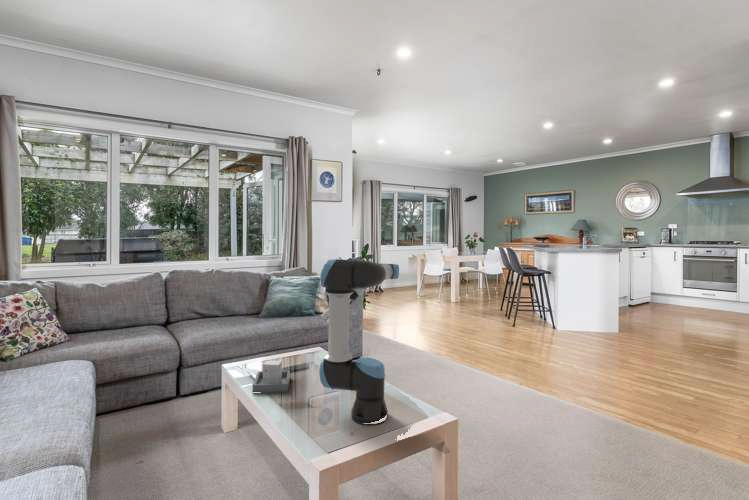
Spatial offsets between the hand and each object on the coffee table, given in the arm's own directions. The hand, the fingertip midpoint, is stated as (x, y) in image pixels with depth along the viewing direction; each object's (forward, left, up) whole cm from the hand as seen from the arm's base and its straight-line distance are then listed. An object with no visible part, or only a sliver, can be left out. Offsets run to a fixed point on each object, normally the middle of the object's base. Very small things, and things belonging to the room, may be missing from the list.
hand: (325, 320), depth 202 cm
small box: (-7, +26, -29) cm, 40 cm away
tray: (-7, +26, -30) cm, 40 cm away
